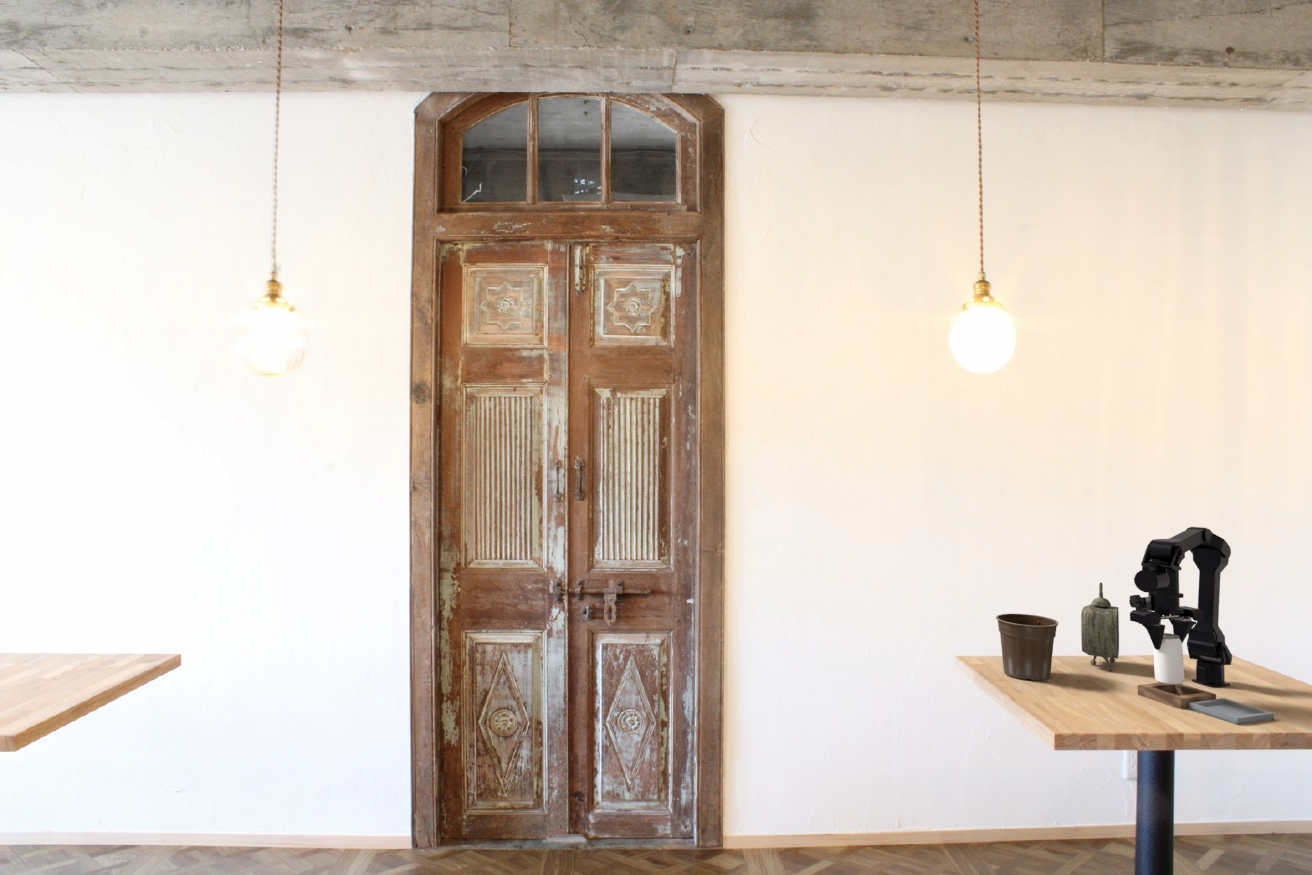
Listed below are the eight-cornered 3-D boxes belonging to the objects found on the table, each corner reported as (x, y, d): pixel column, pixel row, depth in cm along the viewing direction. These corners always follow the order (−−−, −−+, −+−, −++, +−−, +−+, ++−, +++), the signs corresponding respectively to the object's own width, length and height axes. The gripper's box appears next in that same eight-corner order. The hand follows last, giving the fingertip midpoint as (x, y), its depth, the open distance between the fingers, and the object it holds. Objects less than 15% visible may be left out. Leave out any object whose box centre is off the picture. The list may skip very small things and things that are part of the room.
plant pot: (1070, 677, 220) (1069, 620, 220) (1039, 687, 211) (1038, 627, 211) (1016, 664, 233) (1015, 611, 234) (985, 673, 224) (984, 617, 225)
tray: (1223, 703, 196) (1223, 698, 196) (1274, 719, 185) (1273, 713, 185) (1188, 708, 193) (1188, 702, 193) (1237, 724, 181) (1237, 718, 181)
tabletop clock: (1117, 674, 223) (1115, 587, 223) (1081, 669, 228) (1080, 584, 228) (1119, 662, 235) (1118, 580, 236) (1085, 658, 240) (1084, 578, 241)
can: (1189, 685, 198) (1186, 639, 198) (1161, 685, 199) (1158, 639, 199) (1178, 677, 204) (1175, 632, 204) (1150, 677, 206) (1148, 632, 206)
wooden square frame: (1172, 690, 207) (1171, 681, 208) (1216, 704, 196) (1216, 694, 196) (1137, 694, 204) (1137, 685, 204) (1180, 708, 192) (1180, 698, 192)
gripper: (1166, 581, 212) (1167, 638, 212) (1111, 585, 207) (1112, 643, 207) (1204, 588, 201) (1206, 648, 201) (1148, 592, 196) (1149, 654, 196)
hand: (1167, 648), depth 202 cm, fingers closed on can, 6 cm apart
